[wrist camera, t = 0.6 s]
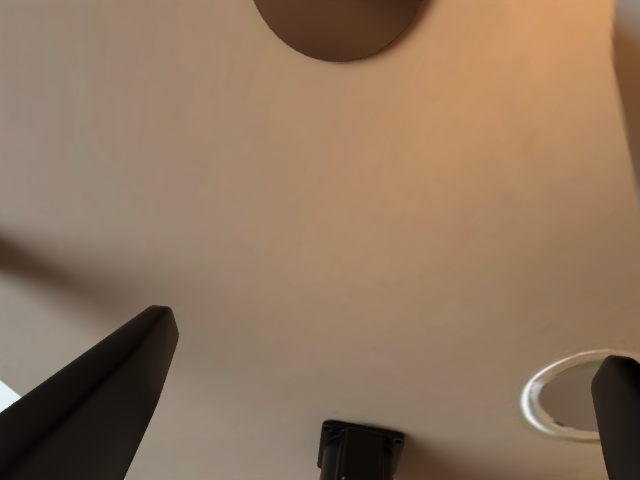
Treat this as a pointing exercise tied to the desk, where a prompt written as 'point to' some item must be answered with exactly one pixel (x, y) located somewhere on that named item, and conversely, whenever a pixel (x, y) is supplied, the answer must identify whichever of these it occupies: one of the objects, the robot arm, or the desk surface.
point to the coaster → (337, 25)
